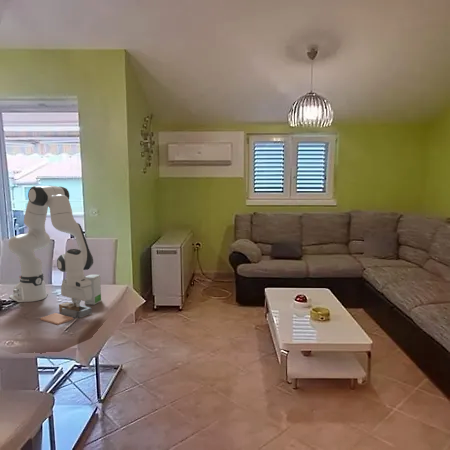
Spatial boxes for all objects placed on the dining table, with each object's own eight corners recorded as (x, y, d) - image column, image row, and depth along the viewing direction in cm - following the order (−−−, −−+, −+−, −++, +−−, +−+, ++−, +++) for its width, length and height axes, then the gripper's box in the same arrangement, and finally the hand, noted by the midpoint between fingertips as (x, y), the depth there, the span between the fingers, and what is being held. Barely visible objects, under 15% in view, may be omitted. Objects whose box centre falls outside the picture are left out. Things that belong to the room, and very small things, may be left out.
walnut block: (59, 311, 221) (58, 301, 221) (67, 309, 226) (66, 299, 225) (71, 315, 216) (71, 305, 215) (79, 312, 220) (79, 302, 220)
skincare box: (94, 305, 233) (93, 277, 231) (83, 304, 234) (82, 277, 232) (101, 300, 241) (100, 274, 239) (91, 299, 242) (90, 273, 240)
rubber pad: (40, 319, 210) (39, 318, 210) (55, 314, 218) (55, 312, 217) (57, 324, 203) (57, 323, 203) (73, 319, 210) (73, 317, 210)
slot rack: (61, 314, 218) (61, 308, 218) (75, 309, 226) (75, 303, 225) (77, 318, 212) (77, 312, 211) (91, 313, 219) (91, 307, 219)
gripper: (57, 279, 219) (58, 304, 221) (83, 284, 208) (84, 311, 210) (67, 276, 224) (68, 301, 226) (93, 281, 214) (94, 307, 215)
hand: (76, 306), depth 218 cm, fingers closed
